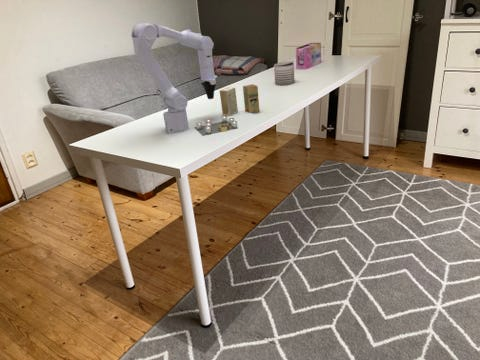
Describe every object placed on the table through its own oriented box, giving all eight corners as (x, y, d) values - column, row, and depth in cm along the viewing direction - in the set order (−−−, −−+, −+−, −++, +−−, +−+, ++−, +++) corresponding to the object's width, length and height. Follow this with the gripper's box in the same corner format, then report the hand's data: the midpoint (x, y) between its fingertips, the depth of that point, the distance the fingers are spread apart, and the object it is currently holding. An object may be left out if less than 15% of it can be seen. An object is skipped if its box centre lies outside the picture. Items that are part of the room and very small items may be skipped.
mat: (202, 137, 154) (202, 135, 153) (194, 129, 165) (194, 127, 164) (238, 130, 158) (238, 128, 158) (227, 122, 169) (227, 120, 169)
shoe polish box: (245, 112, 180) (242, 86, 175) (254, 110, 182) (252, 84, 177) (249, 114, 176) (247, 88, 171) (259, 112, 178) (257, 86, 173)
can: (285, 86, 219) (284, 64, 214) (270, 84, 227) (269, 63, 222) (298, 82, 225) (298, 61, 220) (284, 80, 233) (283, 60, 228)
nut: (223, 132, 155) (222, 128, 154) (216, 129, 158) (216, 126, 158) (231, 129, 157) (230, 125, 156) (224, 127, 160) (224, 123, 160)
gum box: (305, 69, 257) (305, 48, 251) (294, 69, 262) (294, 48, 256) (321, 62, 274) (321, 42, 268) (311, 62, 279) (310, 42, 273)
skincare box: (231, 113, 181) (228, 86, 176) (238, 114, 179) (235, 87, 174) (222, 116, 177) (218, 90, 172) (229, 118, 175) (226, 90, 169)
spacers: (203, 135, 154) (202, 129, 152) (195, 127, 164) (194, 121, 163) (239, 127, 158) (239, 121, 157) (229, 120, 168) (229, 114, 167)
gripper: (221, 67, 158) (225, 100, 163) (210, 62, 170) (214, 93, 176) (204, 69, 156) (208, 103, 161) (194, 65, 168) (199, 96, 174)
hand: (210, 98), depth 169 cm, fingers closed
